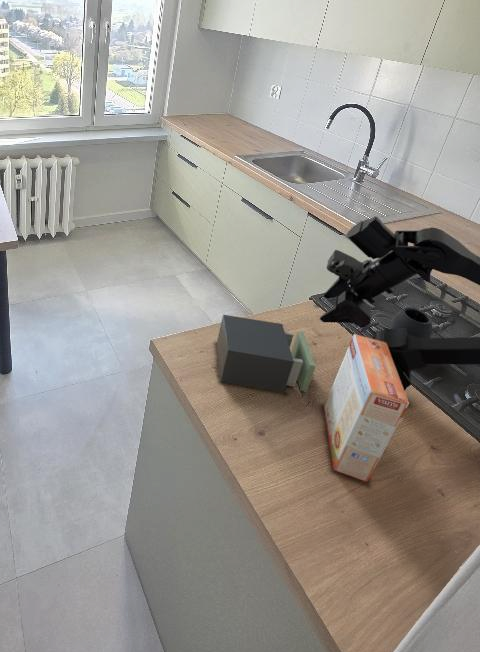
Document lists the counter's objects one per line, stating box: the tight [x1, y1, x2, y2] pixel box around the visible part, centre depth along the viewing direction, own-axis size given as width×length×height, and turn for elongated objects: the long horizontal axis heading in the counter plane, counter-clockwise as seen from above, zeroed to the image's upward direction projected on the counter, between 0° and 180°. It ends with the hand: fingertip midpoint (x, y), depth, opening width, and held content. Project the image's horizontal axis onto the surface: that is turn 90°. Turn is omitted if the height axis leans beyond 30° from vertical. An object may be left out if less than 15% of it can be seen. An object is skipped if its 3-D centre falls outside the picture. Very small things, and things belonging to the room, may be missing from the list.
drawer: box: [284, 330, 317, 392], centre depth 94 cm, size 14×10×8 cm
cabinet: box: [216, 314, 294, 394], centre depth 95 cm, size 13×11×9 cm
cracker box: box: [323, 333, 410, 483], centre depth 77 cm, size 14×6×21 cm, turn 160°
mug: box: [389, 306, 434, 338], centre depth 102 cm, size 12×9×11 cm
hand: (323, 308), depth 93 cm, fingers open, 9 cm apart
